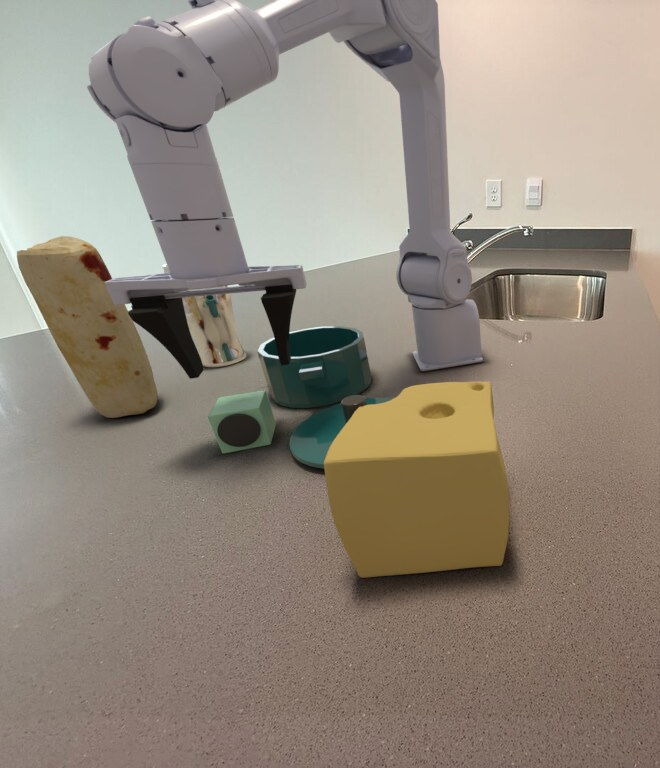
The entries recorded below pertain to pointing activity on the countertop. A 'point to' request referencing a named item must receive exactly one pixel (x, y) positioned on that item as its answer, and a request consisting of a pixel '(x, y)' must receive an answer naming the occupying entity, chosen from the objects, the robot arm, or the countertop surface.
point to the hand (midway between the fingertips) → (243, 367)
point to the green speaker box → (242, 421)
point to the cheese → (421, 482)
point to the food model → (89, 325)
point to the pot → (317, 367)
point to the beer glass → (213, 328)
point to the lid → (325, 429)
